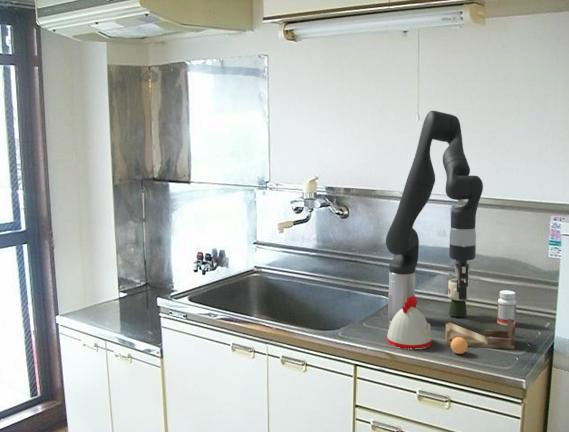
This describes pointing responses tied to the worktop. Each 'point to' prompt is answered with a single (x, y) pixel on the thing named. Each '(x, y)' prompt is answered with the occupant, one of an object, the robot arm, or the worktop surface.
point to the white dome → (409, 327)
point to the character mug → (456, 300)
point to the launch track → (483, 336)
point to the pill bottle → (506, 308)
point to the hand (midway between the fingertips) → (461, 295)
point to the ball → (459, 345)
